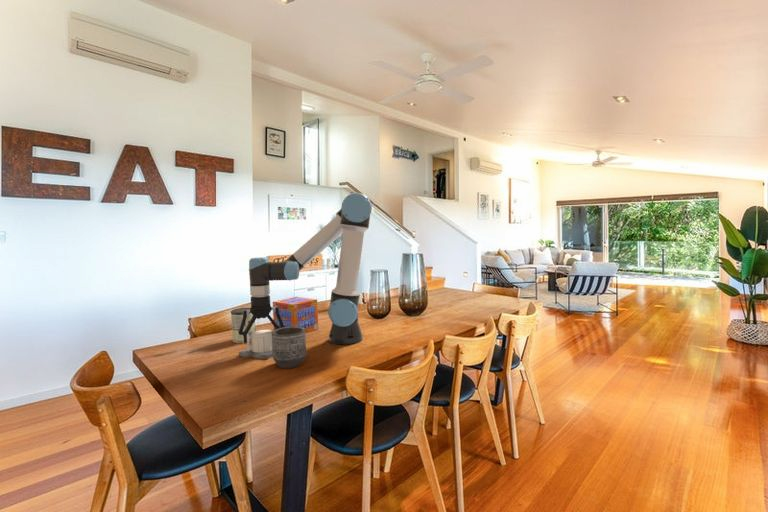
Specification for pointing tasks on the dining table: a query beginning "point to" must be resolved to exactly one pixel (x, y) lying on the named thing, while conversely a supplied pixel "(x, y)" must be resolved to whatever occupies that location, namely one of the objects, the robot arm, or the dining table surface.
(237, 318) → the coffee can
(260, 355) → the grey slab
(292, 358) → the planter
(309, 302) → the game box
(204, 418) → the dining table surface
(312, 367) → the dining table surface
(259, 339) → the cap
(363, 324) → the dining table surface
